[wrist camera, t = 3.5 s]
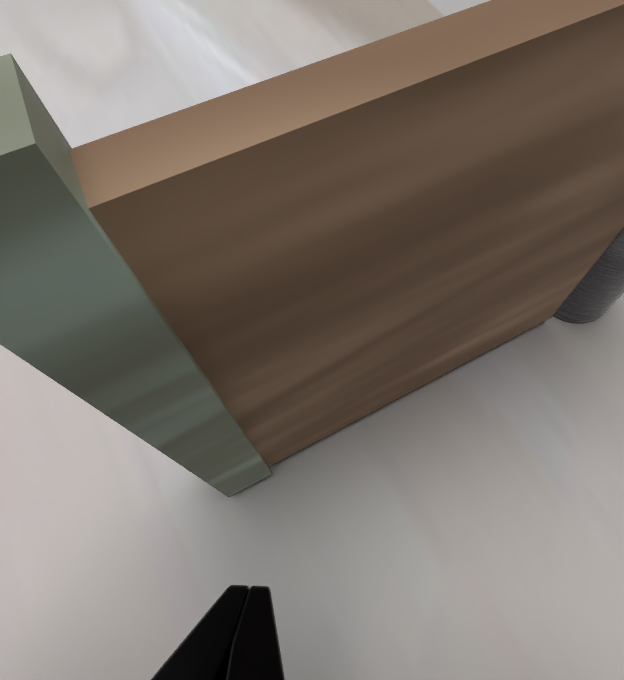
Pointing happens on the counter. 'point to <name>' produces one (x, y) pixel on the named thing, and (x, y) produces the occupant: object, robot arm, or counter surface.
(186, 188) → the gate
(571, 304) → the gate post
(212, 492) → the counter surface
